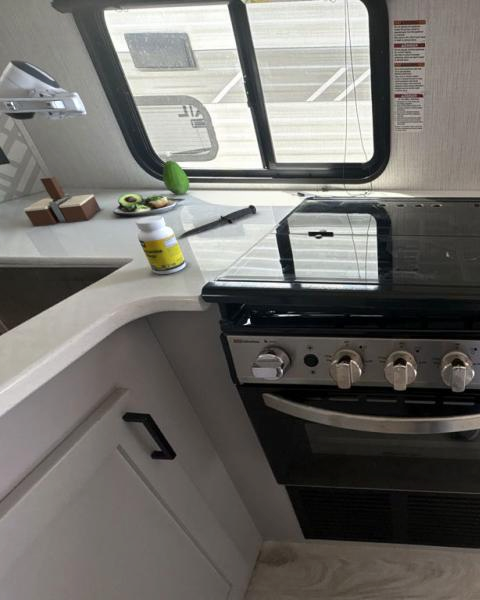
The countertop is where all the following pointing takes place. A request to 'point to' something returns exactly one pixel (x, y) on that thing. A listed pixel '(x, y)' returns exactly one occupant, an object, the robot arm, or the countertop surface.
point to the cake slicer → (55, 196)
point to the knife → (223, 220)
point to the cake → (63, 210)
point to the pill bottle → (160, 245)
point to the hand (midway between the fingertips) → (29, 105)
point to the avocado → (175, 178)
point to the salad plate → (144, 205)
